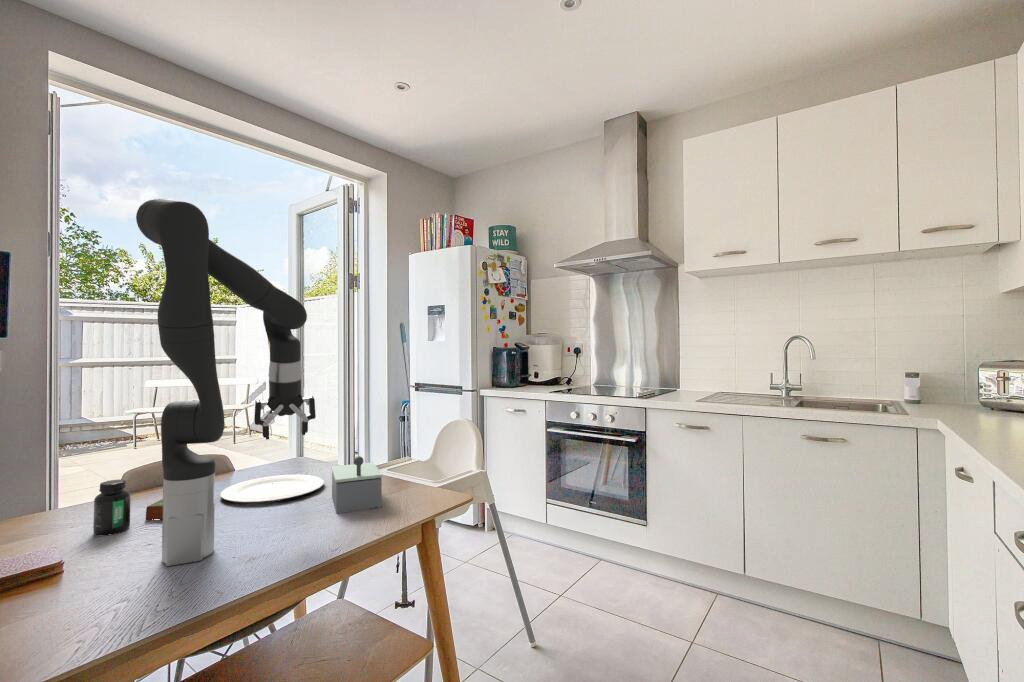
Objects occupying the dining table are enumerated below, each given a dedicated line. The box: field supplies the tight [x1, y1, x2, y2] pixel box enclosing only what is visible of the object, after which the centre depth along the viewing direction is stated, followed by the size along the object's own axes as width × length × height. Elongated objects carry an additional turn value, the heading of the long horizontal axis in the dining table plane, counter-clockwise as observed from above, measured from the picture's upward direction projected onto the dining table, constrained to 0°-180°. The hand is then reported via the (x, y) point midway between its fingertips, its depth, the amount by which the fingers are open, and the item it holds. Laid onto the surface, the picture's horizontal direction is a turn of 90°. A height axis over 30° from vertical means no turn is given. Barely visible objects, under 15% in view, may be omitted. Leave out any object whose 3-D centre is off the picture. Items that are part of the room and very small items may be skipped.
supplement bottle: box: [92, 478, 132, 537], centre depth 113 cm, size 7×7×12 cm
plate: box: [220, 474, 325, 504], centre depth 145 cm, size 29×29×2 cm
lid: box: [331, 455, 383, 483], centre depth 135 cm, size 16×12×6 cm
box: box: [331, 471, 383, 514], centre depth 135 cm, size 16×12×8 cm
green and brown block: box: [145, 498, 163, 521], centre depth 128 cm, size 8×16×4 cm, turn 5°
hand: (285, 436), depth 121 cm, fingers open, 8 cm apart
